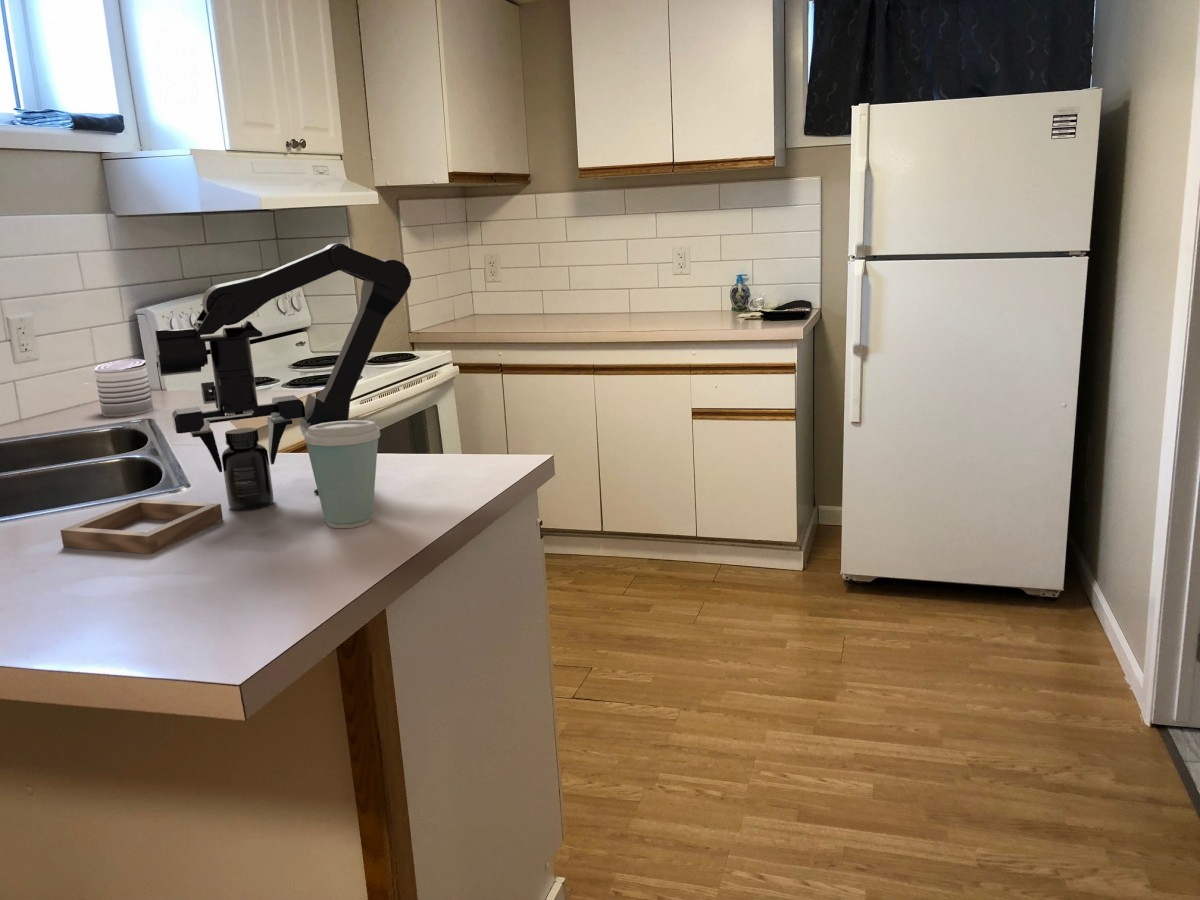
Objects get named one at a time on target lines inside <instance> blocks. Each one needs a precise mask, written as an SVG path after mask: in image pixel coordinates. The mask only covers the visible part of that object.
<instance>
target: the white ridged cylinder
mask: <svg viewBox="0 0 1200 900" xmlns="http://www.w3.org/2000/svg"><path fill="white" fill-rule="evenodd" d="M147 361H148V360H145V359H139V358H132V359H131V358H130V359H121V360H114V361H111V362H107V363H102V364H99V365H96V366H95V367H94V368H92V370H93V371H94V375H95V376H94V377H95V382H96V386H97V393H98V398H99V403H100V404H99V405H100V410H101V416H102V415H103V416H104V417H106V418H108V417H109V418H111V417H112V418H113V417H115V418H116V417H117V418H119V417H128V416H129V417H130V416H136V415H141V414H146V413H148V412H150V411H153V410H154V406H153V400H152V394H151V387H150V381H149V380H150V379H149V375H148V369H147V365H146V364H145V363H146V362H147Z"/></svg>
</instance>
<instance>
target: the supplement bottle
mask: <svg viewBox="0 0 1200 900" xmlns="http://www.w3.org/2000/svg"><path fill="white" fill-rule="evenodd" d="M224 437H225V444H226V446H227V448H226V449H224V450H223V451H222V453H221V464H222V472H223V478H224V484H225V490H226V491H225V492H226V499H227V503H228V504H227V505H228V508H230V509H231V510H234V511H252V510H258V509H262V508H266V507H267V506H270V505H272V503H274V499H275V497H274V489H273V482H272V475H271V468H270V458H269V451H268V449H267V448H266V447H265V446H264V445H262V444H260V443H259V441H260V437H259V429H258V428H256V427H242V428H241V427H239V428H235V429H234V428H233V429H230V430H227V431H225V433H224Z"/></svg>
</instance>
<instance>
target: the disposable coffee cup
mask: <svg viewBox="0 0 1200 900" xmlns="http://www.w3.org/2000/svg"><path fill="white" fill-rule="evenodd" d="M304 436H305V437H304ZM304 436H303V437H304V440H303V442H305V445H306V448H307V453H308V456H309V462H310V465H311V468H312V474H313V478H314V481H315V485H316V489H317V490H318V494H317V495H318V497H319V501H320V506H321V510H322V514H323V519H324V520H325V521H326V524H327V526H329V527H331V528H335V529H352V528H353V529H354V528H357V527H362V526H363V527H364V526H365V525H367V524H370V523H371V520H372V517H373V513H374V497H375V487H376V475H377V474H376V472H377V470H376V469H377V462H378V461H377V459H378V458H377V457H378V447H379V446H378V445H379V438H380V437H381V431H380V427H379V426H377V424H376V422H375V421H372V420H366V419H365V420H357V419H356V420H355V419H351V420H349V419H348V421H335V422H327V423H321V424H316V425H312V426H310V427H309V428H308V431H307V432H306V434H305V435H304Z"/></svg>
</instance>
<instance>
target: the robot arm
mask: <svg viewBox="0 0 1200 900" xmlns="http://www.w3.org/2000/svg"><path fill="white" fill-rule="evenodd" d="M337 271H339V272H343V273H345V274H347V275H349V276H351V277H354V278H356V279H358V280H359V281H360V280H361V281H362V285H361V290H360V303H359V308H358V310H357V313H356V315H355V318H354V321H353V322H352V324H351V326H350V329H349V332H348V334H347V336H346V338H345V341H344V343H343V345H342V347H341V350H340V352H339V354H338V356H337V360H336V361H335V364H334V366H333V368H332V371H331V373H330V375H329V378H328V379H327V382H326V384H325V386H324V388H322V390H321V391H320V392H319V394H318V395H317V396H315V395H314V394H312V393H308V394H307V397H306V400H305V403H304V401H302V400H301V399H300V398H298V397H297V396H295V394H292V395H285V396H275V397H272V400H271V403H265V404H259V403H258V395H257V386H256V379H255V372H254V366H253V355H252V351H251V350H252V349H251V348H252V347H251V341H250V338H261V337H262V336H264V335H263V334H264V333H263V332H262V331H260V330H259V329H258V328H257V327H255V326H254V325H253V323H252V322H251V321H249V320H246V321H245V322H244V324H243V325H242V326H233V325H235V324H236V325H237V324H239V323H240V322H241V321H243V320H245V319H246V318H247V317H249V316H251V315H252V314H253V313H255V312H256V311H258V310H259V309H260V308H261V307H263V306H265V304H267V303H268V302H270V301H271V300H273V299H275V298H278V297H280V296H282V295H285V294H287V293H289V292H291V291H294V290H296V289H299V288H301V287H303V286H306V285H307V284H310V283H312V282H315V281H317V280H319V279H322V278H323V277H326V276H328V275H331V274H334V273H335V272H337ZM411 282H412V275H411V273H410V270H409V268H408V267H407V266H406V264H405V263H403V262H401V261H400V260H396V259H389V258H376V257H374V256H371V255H369V254H366V253H363V252H360V251H358V250H355V249H353V248H351V247H349V246H348V245H346V244H345V243H336V242H335V243H329V244H328V245H326V246H325V247H324V248H322V249H320V250H317V251H315V252H313V253H310V254H308V255H305V256H303V257H301V258H298V259H296V260H294V261H290V262H288V263H286V264H284V265H282V266H279V267H277V268H273V269H272V270H269V271H267V272H264V273H262V274H260V275H256V276H252V277H248V278H242V279H237V280H232V281H228V282H222V283H220V284H219V283H218V284H215V285H212V286H211V287H209V288H208V289H206V290H205V292H204V294H203V297H202V300H201V301H202V305H201V306H202V310H201V312H200V313H199V315H198V316H197V319H195V320H194V323H193V325H192V326H191V327H186V328H175V329H168V328H161V329H160V328H159V329H155V330H154V334H155V343H156V350H155V354H156V355H155V356H156V361H157V366H158V370H159V376H160V377H166V376H167V377H169V376H177V375H187V374H194V373H201V372H202V367H206V365H208V364H209V357H208V351H207V350H208V349H207V345H206V342H209V349H210V350H209V352H210V357H211V362H212V363H211V364H212V370H213V378H214V381H208V382H207V381H206V382H201V383H200V387H201V388H200V390H201V395H202V401H203V404H204V405H209V404H214V405H215V408H216V409H217V410H216V409H215V410H207V411H202V410H201V409H200V406H194V407H185V408H179V409H178V408H177V409H174V410H173V412H172V413H171V418H172V425H173V429H174V431H175V433H176V434H187V433H189V434H190V435H191V437H192V438H200V439H201V441H202V442H203V444H204V445H205V447H206V448H207V451H208V452H209V454H210V456H211V458H212V460H213V462H214V464H215V467H216V468H217V470H218V472H219V473H222V472H223V465H222V459H221V457H220V456H221V455H220V452H219V449H218V446H217V442H216V438H215V435H214V431H213V430H212V428H211V424H216V423H223V422H230V421H239V420H246V419H252V418H253V419H254V418H261V417H266V421H267V427H268V459H269V464H270V465H272V466H273V465H275V461H276V457H277V453H278V450H279V447H280V442H281V439H282V437H283V435H284V432H285V429H286V427H288V425H293V419H300V418H301V419H300V422H299V429H300V432H301V434H302V436H303V437H304V438H305V436H304V435H305V434H306V432H307V431H308V428H309V427H310V426H312V425H316V424H321V423H327V422H335V421H349V418H350V417H349V415H350V407H351V406H350V405H351V398H352V396H353V394H354V391H355V389H356V386H357V384H358V382H359V379H360V377H361V375H362V373H363V370H364V368H365V366H366V363H367V362H368V358H369V357H370V354H371V352H372V350H373V347H374V346H375V343H376V340H377V338H378V336H379V334H380V332H381V329H382V328H383V325H384V322H385V321H386V319H387V317H388V316H389V314H391V312H393V311H394V309H395V308H396V307H397V306H398V304H399V303H400V302H401V301H402V299H403V297H404V296H405V294H406V293H407V292H408V290H409V288H410V286H411ZM224 326H233V327H224ZM221 328H223V329H222V333H221V334H215V333H217V332H218V331H219V330H220V329H221ZM206 335H207V336H206ZM314 494H317V495H319V494H318V490H317V488H316V489H314Z"/></svg>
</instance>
